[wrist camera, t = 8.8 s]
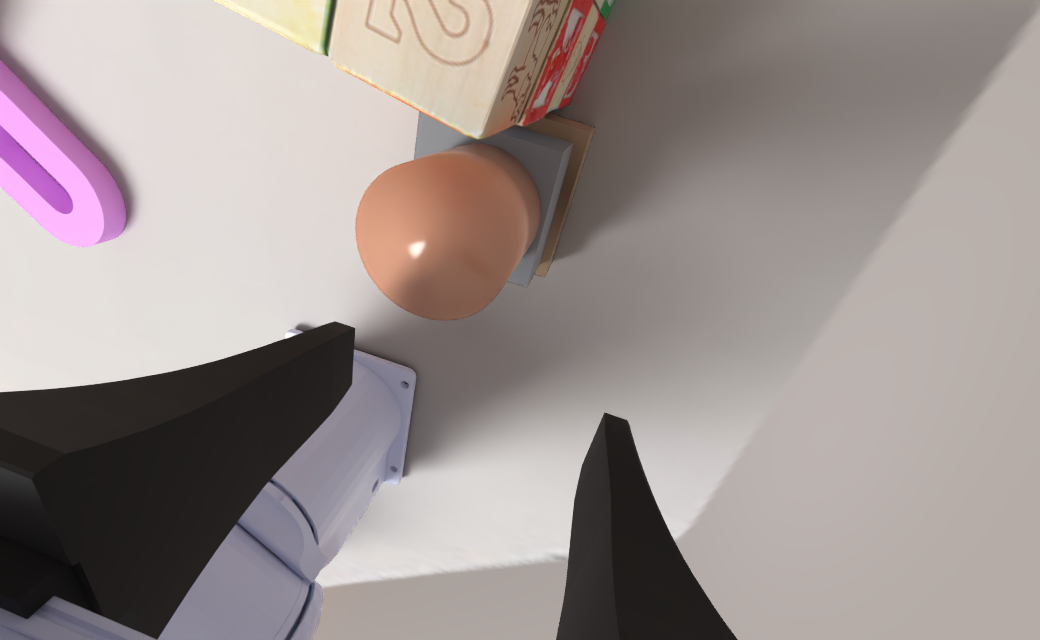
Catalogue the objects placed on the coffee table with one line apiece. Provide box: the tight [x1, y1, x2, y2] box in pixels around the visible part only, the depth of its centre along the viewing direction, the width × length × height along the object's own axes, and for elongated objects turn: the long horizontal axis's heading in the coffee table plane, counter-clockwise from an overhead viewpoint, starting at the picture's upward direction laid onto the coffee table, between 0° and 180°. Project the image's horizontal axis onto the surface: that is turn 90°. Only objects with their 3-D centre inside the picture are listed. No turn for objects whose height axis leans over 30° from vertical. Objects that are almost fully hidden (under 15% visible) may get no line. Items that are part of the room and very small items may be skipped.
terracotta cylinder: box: [355, 143, 541, 321], centre depth 15 cm, size 4×4×4 cm
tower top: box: [414, 111, 574, 288], centre depth 18 cm, size 5×5×2 cm
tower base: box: [514, 113, 595, 277], centre depth 20 cm, size 6×6×2 cm
